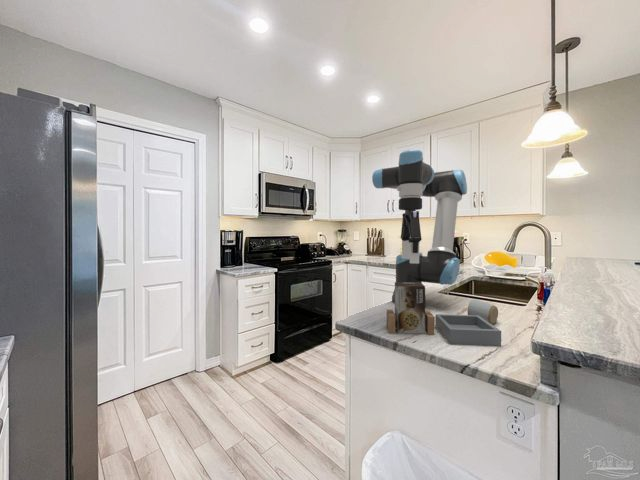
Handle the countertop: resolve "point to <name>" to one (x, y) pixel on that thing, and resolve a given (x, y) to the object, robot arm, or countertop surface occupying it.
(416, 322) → the coffee box
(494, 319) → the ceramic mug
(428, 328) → the wooden blocks
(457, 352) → the countertop surface
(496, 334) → the tray
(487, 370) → the countertop surface
